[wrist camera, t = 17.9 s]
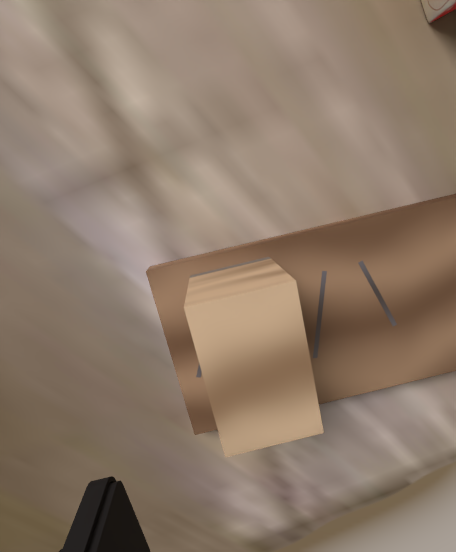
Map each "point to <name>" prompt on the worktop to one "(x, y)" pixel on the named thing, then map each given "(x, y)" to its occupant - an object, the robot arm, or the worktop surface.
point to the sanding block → (253, 355)
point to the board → (342, 301)
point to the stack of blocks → (437, 8)
